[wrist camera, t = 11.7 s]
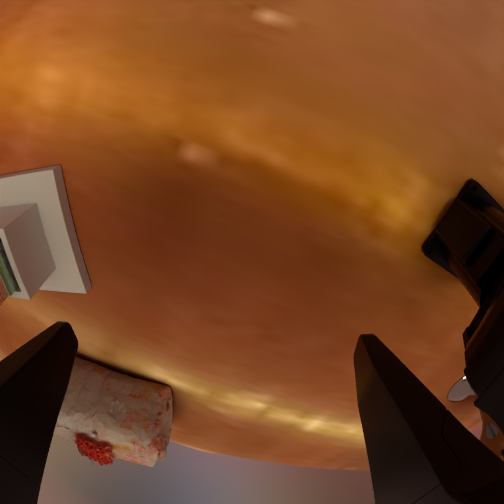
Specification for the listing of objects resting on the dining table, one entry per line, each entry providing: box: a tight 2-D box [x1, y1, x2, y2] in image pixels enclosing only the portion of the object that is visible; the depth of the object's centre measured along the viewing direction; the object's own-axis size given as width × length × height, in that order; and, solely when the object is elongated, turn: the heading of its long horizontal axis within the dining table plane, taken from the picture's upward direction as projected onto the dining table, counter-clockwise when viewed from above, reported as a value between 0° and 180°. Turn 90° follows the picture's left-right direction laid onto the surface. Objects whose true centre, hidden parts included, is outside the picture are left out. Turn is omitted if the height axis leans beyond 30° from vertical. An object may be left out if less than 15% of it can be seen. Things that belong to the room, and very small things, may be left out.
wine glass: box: [448, 376, 504, 461], centre depth 23 cm, size 8×8×15 cm
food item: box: [54, 357, 173, 467], centre depth 26 cm, size 14×8×10 cm, turn 73°
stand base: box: [0, 165, 92, 300], centre depth 19 cm, size 10×10×6 cm
